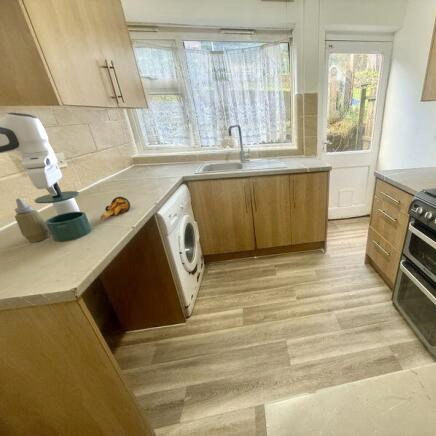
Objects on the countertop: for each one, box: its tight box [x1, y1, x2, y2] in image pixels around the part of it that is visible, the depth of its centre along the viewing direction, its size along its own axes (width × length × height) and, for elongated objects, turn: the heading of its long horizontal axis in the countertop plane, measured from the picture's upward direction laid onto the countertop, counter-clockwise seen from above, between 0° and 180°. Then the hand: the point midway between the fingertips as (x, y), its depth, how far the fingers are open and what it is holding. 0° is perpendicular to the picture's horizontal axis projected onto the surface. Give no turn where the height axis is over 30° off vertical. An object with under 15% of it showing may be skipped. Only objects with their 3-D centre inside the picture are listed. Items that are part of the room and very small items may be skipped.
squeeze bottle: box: [14, 198, 50, 243], centre depth 99 cm, size 8×8×18 cm
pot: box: [45, 211, 92, 243], centre depth 104 cm, size 13×18×8 cm
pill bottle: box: [52, 197, 81, 215], centre depth 114 cm, size 8×8×15 cm
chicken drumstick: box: [100, 196, 131, 220], centre depth 123 cm, size 9×11×18 cm
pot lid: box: [34, 184, 80, 204], centre depth 98 cm, size 14×14×6 cm
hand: (56, 194), depth 98 cm, fingers closed on pot lid, 3 cm apart
